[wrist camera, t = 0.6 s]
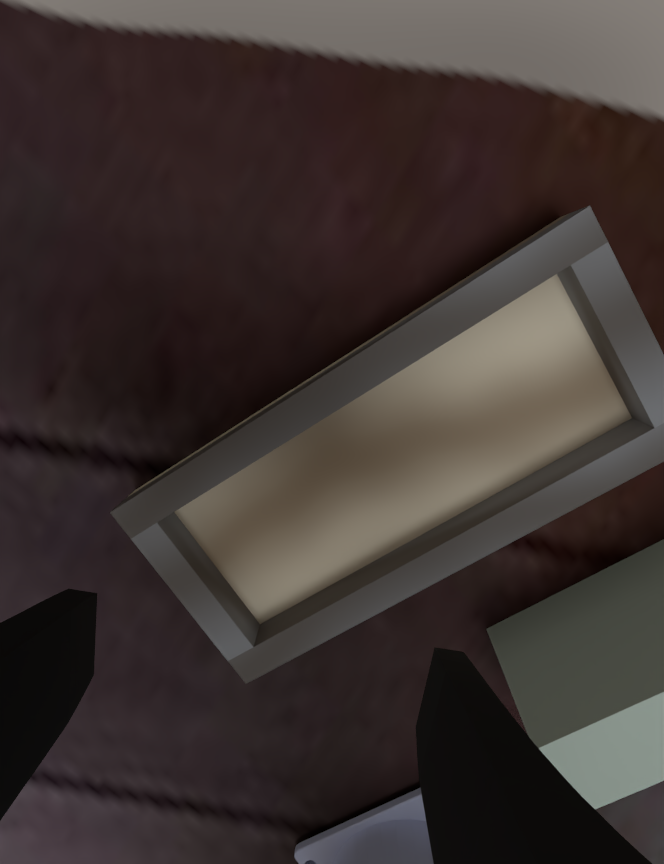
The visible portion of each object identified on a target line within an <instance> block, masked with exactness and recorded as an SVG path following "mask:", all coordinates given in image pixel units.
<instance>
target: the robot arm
mask: <svg viewBox="0 0 664 864" xmlns="http://www.w3.org/2000/svg"><path fill="white" fill-rule="evenodd" d="M96 606H97V593H92V592H85V591H79V590H73V589H67V590H65V591H63V592H60V593H58V594H56V595H54V596H52V597H50V598H48V599H46V600H44V601H42V602H40V603H38V604H36V605H34V606H33V607H31V608H29V609H27V610H25V611H23V612H21V613H19V614H17V615H15V616H13V617H11V618H9V619H7V620H5V621H3V622H1V623H0V820H1V819H2V817H3V816H4V814H5V813H6V812H7V810H8V809H9V807H10V806H11V804H12V803H13V802H14V800H15V799H16V797H17V796H18V794H19V793H20V792H21V790H22V789H23V787H24V786H25V784H26V783H27V782H28V780H29V779H30V777H31V776H32V774H33V773H34V772H35V770H36V769H37V767H38V766H39V764H40V763H41V762H42V760H43V759H44V757H45V756H46V754H47V753H48V751H49V750H50V748H51V747H52V746H53V744H54V743H55V741H56V740H57V738H58V737H59V735H60V734H61V732H62V731H63V730H64V728H65V727H66V725H67V724H68V722H69V720H70V718H71V717H72V715H73V713H74V711H75V709H76V708H77V706H78V704H79V702H80V700H81V698H82V697H83V695H84V693H85V691H86V689H87V687H88V685H89V683H90V681H91V679H92V677H93V675H94V655H95V631H96ZM416 737H417V756H418V770H419V781H420V788H418V789H416V790H414V791H412V792H409V793H407V794H405V795H403V796H401V797H398V798H396V799H394V800H392V801H390V802H388V803H385V804H383V805H381V806H379V807H377V808H374V809H372V810H370V811H368V812H366V813H363V814H361V815H359V816H357V817H355V818H353V819H350V820H348V821H346V822H344V823H342V824H339V825H337V826H335V827H333V828H331V829H328V830H326V831H324V832H322V833H320V834H318V835H315V836H313V837H311V838H309V839H307V840H304V841H302V842H300V843H299V844H297V845H296V847H295V854H294V857H295V859H296V861H297V862H298V863H299V864H652V863H651V862H650V861H648V860H647V859H646V858H645V857H644V856H643V855H642V854H641V853H639V852H638V851H637V850H636V849H635V848H634V847H633V846H632V845H631V844H630V843H629V842H628V841H627V840H625V839H624V838H623V837H622V836H621V835H620V834H619V833H618V832H617V831H616V830H615V829H614V828H613V827H612V826H611V825H610V824H609V823H608V822H607V821H606V820H605V819H604V818H603V817H602V816H601V815H600V814H599V813H598V812H597V811H596V810H595V809H594V808H593V807H592V806H591V805H590V804H589V803H588V802H587V801H586V800H585V799H584V798H583V797H582V796H581V795H580V794H579V793H578V792H577V791H576V790H575V789H574V788H573V787H572V785H571V784H570V783H569V782H568V781H567V780H566V779H565V778H564V777H563V776H562V774H561V773H560V772H559V771H558V770H557V769H556V768H555V767H554V765H553V764H552V763H551V762H550V761H549V760H548V759H547V758H546V756H545V755H544V754H543V753H542V752H541V751H540V750H539V748H538V747H537V746H536V745H535V744H534V742H533V741H532V740H531V739H530V738H529V736H528V735H527V734H526V733H525V732H524V730H523V729H522V728H521V727H520V725H519V724H518V723H517V722H516V720H515V719H514V718H513V717H512V715H511V714H510V713H509V711H508V710H507V709H506V708H505V706H504V705H503V704H502V702H501V701H500V700H499V699H498V697H497V696H496V695H495V693H494V692H493V691H492V689H491V688H490V687H489V685H488V684H487V683H486V681H485V680H484V679H483V677H482V676H481V675H480V673H479V672H478V671H477V669H476V668H475V666H474V665H473V664H472V662H471V661H470V660H469V659H468V657H467V656H466V655H465V653H464V652H459V651H453V650H447V649H441V648H435V649H434V653H433V657H432V661H431V666H430V670H429V674H428V678H427V682H426V687H425V691H424V695H423V699H422V703H421V708H420V712H419V716H418V720H417V725H416Z"/></svg>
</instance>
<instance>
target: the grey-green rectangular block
mask: <svg viewBox="0 0 664 864" xmlns="http://www.w3.org/2000/svg"><path fill="white" fill-rule="evenodd" d="M486 630H487V632H488V635H489V637H490V640H491V642H492V645H493V648H494V650H495V653H496V655H497V658H498V660H499V663H500V665H501V668H502V670H503V673H504V675H505V678H506V681H507V683H508V686H509V688H510V691H511V693H512V696H513V698H514V701H515V703H516V706H517V708H518V711H519V714H520V716H521V719H522V721H523V724H524V726H525V729H526V731H527V734H528V736H529V738H530V739H531V740H532V741H533V742H534V744H535V745H536V746H537V747H538V748H539V750H540V751H541V752H542V753H543V754H544V755H545V756H546V758H547V759H548V760H549V761H550V762H551V763H552V764H553V765H554V767H555V768H556V769H557V770H558V771H559V772H560V773H561V774H562V776H563V777H564V778H565V779H566V780H567V781H568V782H569V783H570V784H571V785H572V787H573V788H574V789H575V790H576V791H577V792H578V793H579V794H580V795H581V796H582V797H583V798H584V799H585V800H586V801H587V802H588V803H589V804H590V805H591V806H592V807H593V808H594V809H597V808H600V807H602V806H604V805H607V804H609V803H612V802H614V801H616V800H619V799H621V798H624V797H626V796H628V795H631V794H633V793H635V792H638V791H640V790H643V789H645V788H647V787H650V786H652V785H655V784H657V783H659V782H662V781H664V539H663V540H661V541H659V542H657V543H655V544H653V545H651V546H649V547H647V548H645V549H643V550H641V551H639V552H637V553H635V554H633V555H632V556H630V557H628V558H626V559H624V560H622V561H620V562H618V563H616V564H614V565H612V566H610V567H608V568H606V569H604V570H602V571H600V572H598V573H596V574H594V575H592V576H590V577H588V578H586V579H584V580H582V581H580V582H578V583H576V584H574V585H572V586H570V587H568V588H566V589H564V590H562V591H560V592H558V593H556V594H554V595H552V596H550V597H548V598H546V599H544V600H542V601H540V602H539V603H537V604H535V605H533V606H531V607H529V608H527V609H525V610H523V611H521V612H519V613H517V614H515V615H513V616H511V617H509V618H507V619H505V620H503V621H501V622H499V623H497V624H495V625H493V626H491V627H489V628H487V629H486Z"/></svg>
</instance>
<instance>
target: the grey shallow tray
mask: <svg viewBox="0 0 664 864" xmlns="http://www.w3.org/2000/svg"><path fill="white" fill-rule="evenodd" d="M663 461H664V355H663V353H662V351H661V349H660V346H659V344H658V342H657V340H656V338H655V336H654V334H653V332H652V330H651V328H650V326H649V324H648V322H647V320H646V318H645V316H644V314H643V312H642V310H641V308H640V306H639V304H638V302H637V300H636V298H635V296H634V294H633V292H632V290H631V288H630V286H629V284H628V282H627V280H626V278H625V276H624V274H623V272H622V270H621V268H620V266H619V264H618V261H617V259H616V257H615V255H614V253H613V251H612V249H611V247H610V245H609V243H608V241H607V239H606V237H605V235H604V233H603V231H602V229H601V227H600V225H599V223H598V221H597V219H596V217H595V215H594V213H593V211H592V209H591V207H590V206H588V207H585V208H583V209H580V210H577V211H575V212H572V213H569V214H567V215H564V216H562V217H560V218H558V219H557V220H555V221H553V222H552V223H550V224H549V225H547V226H546V227H544V228H543V229H541V230H539V231H538V232H536V233H535V234H533V235H532V236H530V237H529V238H527V239H525V240H524V241H522V242H521V243H519V244H518V245H516V246H515V247H513V248H511V249H510V250H508V251H507V252H505V253H504V254H502V255H501V256H499V257H497V258H496V259H494V260H493V261H491V262H490V263H488V264H487V265H485V266H483V267H482V268H480V269H479V270H477V271H476V272H474V273H472V274H471V275H469V276H468V277H466V278H465V279H463V280H462V281H460V282H458V283H457V284H455V285H454V286H452V287H451V288H449V289H448V290H446V291H444V292H443V293H441V294H440V295H438V296H437V297H435V298H434V299H432V300H430V301H429V302H427V303H426V304H424V305H423V306H421V307H420V308H418V309H416V310H415V311H413V312H412V313H410V314H409V315H407V316H406V317H404V318H402V319H401V320H399V321H398V322H396V323H395V324H393V325H391V326H390V327H388V328H387V329H385V330H384V331H382V332H381V333H379V334H377V335H376V336H374V337H373V338H371V339H370V340H368V341H367V342H365V343H363V344H362V345H360V346H359V347H357V348H356V349H354V350H353V351H351V352H349V353H348V354H346V355H345V356H343V357H342V358H340V359H339V360H337V361H335V362H334V363H332V364H331V365H329V366H328V367H326V368H325V369H323V370H321V371H320V372H318V373H317V374H315V375H314V376H312V377H311V378H309V379H307V380H306V381H304V382H303V383H301V384H300V385H298V386H296V387H295V388H293V389H292V390H290V391H289V392H287V393H286V394H284V395H282V396H281V397H279V398H278V399H276V400H275V401H273V402H272V403H270V404H268V405H267V406H265V407H264V408H262V409H261V410H259V411H258V412H256V413H254V414H253V415H251V416H250V417H248V418H247V419H245V420H244V421H242V422H240V423H239V424H237V425H236V426H234V427H233V428H231V429H230V430H228V431H226V432H225V433H223V434H222V435H220V436H219V437H217V438H216V439H214V440H212V441H211V442H209V443H208V444H206V445H205V446H203V447H201V448H200V449H198V450H197V451H195V452H194V453H192V454H191V455H189V456H187V457H186V458H184V459H183V460H181V461H180V462H178V463H177V464H175V465H173V466H172V467H170V468H169V469H167V470H166V471H164V472H163V473H161V474H159V475H158V476H156V477H155V478H153V479H152V480H150V481H149V482H147V483H145V484H144V485H142V486H141V487H139V488H138V489H136V490H135V491H134V492H132V493H131V494H130V495H129V496H128V497H127V498H126V499H125V500H123V501H122V502H121V503H120V504H119V505H118V506H117V507H116V508H114V509H113V510H112V511H111V512H110V513H111V515H112V516H113V517H114V518H115V520H116V521H117V522H118V523H119V525H120V526H121V527H122V528H123V530H124V531H125V532H126V534H127V535H128V536H129V537H130V539H131V540H132V541H133V542H134V544H135V545H136V546H137V547H138V549H139V550H140V551H141V552H142V554H143V555H144V556H145V557H146V559H147V560H148V561H149V562H150V564H151V565H152V566H153V567H154V569H155V570H156V571H157V573H158V574H159V575H160V576H161V578H162V579H163V580H164V581H165V583H166V584H167V585H168V586H169V588H170V589H171V590H172V591H173V593H174V594H175V595H176V596H177V598H178V599H179V600H180V601H181V603H182V604H183V605H184V607H185V608H186V609H187V610H188V612H189V613H190V614H191V615H192V617H193V618H194V619H195V620H196V622H197V623H198V624H199V625H200V627H201V628H202V629H203V630H204V632H205V633H206V634H207V635H208V637H209V638H210V639H211V640H212V642H213V643H214V644H215V646H216V647H217V648H218V649H219V651H220V652H221V653H222V654H223V656H224V657H225V658H226V659H227V661H228V662H229V663H230V664H231V666H232V667H233V668H234V669H235V671H236V672H237V673H238V674H239V676H240V677H241V678H242V680H243V681H244V682H245V683H246V684H247V683H249V682H250V681H252V680H254V679H256V678H258V677H260V676H262V675H264V674H265V673H267V672H269V671H271V670H273V669H275V668H277V667H279V666H280V665H282V664H284V663H286V662H288V661H290V660H292V659H294V658H296V657H297V656H299V655H301V654H303V653H305V652H307V651H309V650H311V649H312V648H314V647H316V646H318V645H320V644H322V643H324V642H326V641H327V640H329V639H331V638H333V637H335V636H337V635H339V634H341V633H342V632H344V631H346V630H348V629H350V628H352V627H354V626H356V625H357V624H359V623H361V622H363V621H365V620H367V619H369V618H371V617H372V616H374V615H376V614H378V613H380V612H382V611H384V610H386V609H387V608H389V607H391V606H393V605H395V604H397V603H399V602H401V601H402V600H404V599H406V598H408V597H410V596H412V595H414V594H416V593H418V592H419V591H421V590H423V589H425V588H427V587H429V586H431V585H433V584H434V583H436V582H438V581H440V580H442V579H444V578H446V577H448V576H449V575H451V574H453V573H455V572H457V571H459V570H461V569H463V568H464V567H466V566H468V565H470V564H472V563H474V562H476V561H478V560H479V559H481V558H483V557H485V556H487V555H489V554H491V553H493V552H494V551H496V550H498V549H500V548H502V547H504V546H506V545H508V544H509V543H511V542H513V541H515V540H517V539H519V538H521V537H523V536H525V535H526V534H528V533H530V532H532V531H534V530H536V529H538V528H540V527H541V526H543V525H545V524H547V523H549V522H551V521H553V520H555V519H556V518H558V517H560V516H562V515H564V514H566V513H568V512H570V511H571V510H573V509H575V508H577V507H579V506H581V505H583V504H585V503H586V502H588V501H590V500H592V499H594V498H596V497H598V496H600V495H601V494H603V493H605V492H607V491H609V490H611V489H613V488H615V487H616V486H618V485H620V484H622V483H624V482H626V481H628V480H630V479H631V478H633V477H635V476H637V475H639V474H641V473H643V472H645V471H647V470H648V469H650V468H652V467H654V466H656V465H658V464H660V463H662V462H663Z"/></svg>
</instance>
